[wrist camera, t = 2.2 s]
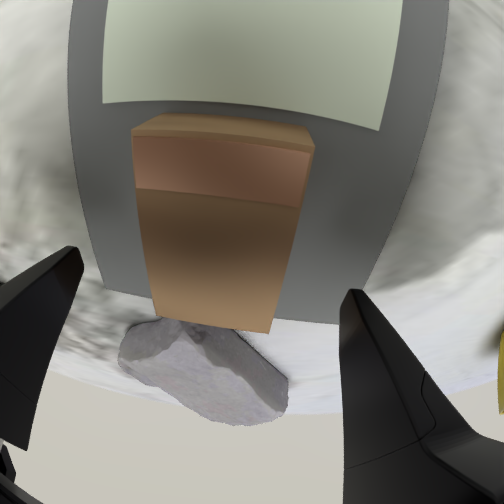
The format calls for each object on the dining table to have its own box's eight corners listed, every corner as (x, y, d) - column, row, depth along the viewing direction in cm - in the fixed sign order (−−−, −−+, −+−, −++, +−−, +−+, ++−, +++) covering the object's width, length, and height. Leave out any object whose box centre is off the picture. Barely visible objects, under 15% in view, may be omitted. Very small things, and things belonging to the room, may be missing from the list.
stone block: (212, 379, 26) (302, 380, 20) (196, 420, 22) (289, 435, 17) (124, 306, 20) (212, 286, 15) (94, 354, 17) (175, 363, 11)
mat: (108, 284, 15) (104, 290, 15) (88, -44, 4) (80, -46, 3) (341, 319, 15) (343, 327, 15) (444, -17, 4) (452, -19, 3)
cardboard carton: (271, 292, 14) (268, 335, 11) (171, 277, 14) (155, 317, 11) (306, 126, 9) (316, 147, 6) (163, 112, 9) (129, 130, 6)
